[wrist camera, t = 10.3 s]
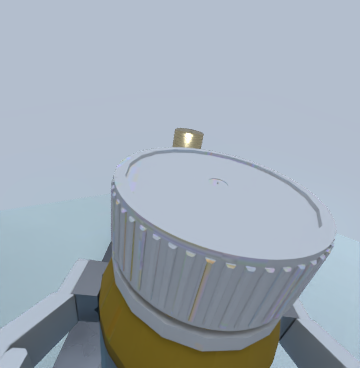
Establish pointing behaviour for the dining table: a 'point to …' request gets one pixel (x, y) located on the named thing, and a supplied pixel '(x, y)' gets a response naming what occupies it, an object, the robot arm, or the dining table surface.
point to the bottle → (205, 259)
